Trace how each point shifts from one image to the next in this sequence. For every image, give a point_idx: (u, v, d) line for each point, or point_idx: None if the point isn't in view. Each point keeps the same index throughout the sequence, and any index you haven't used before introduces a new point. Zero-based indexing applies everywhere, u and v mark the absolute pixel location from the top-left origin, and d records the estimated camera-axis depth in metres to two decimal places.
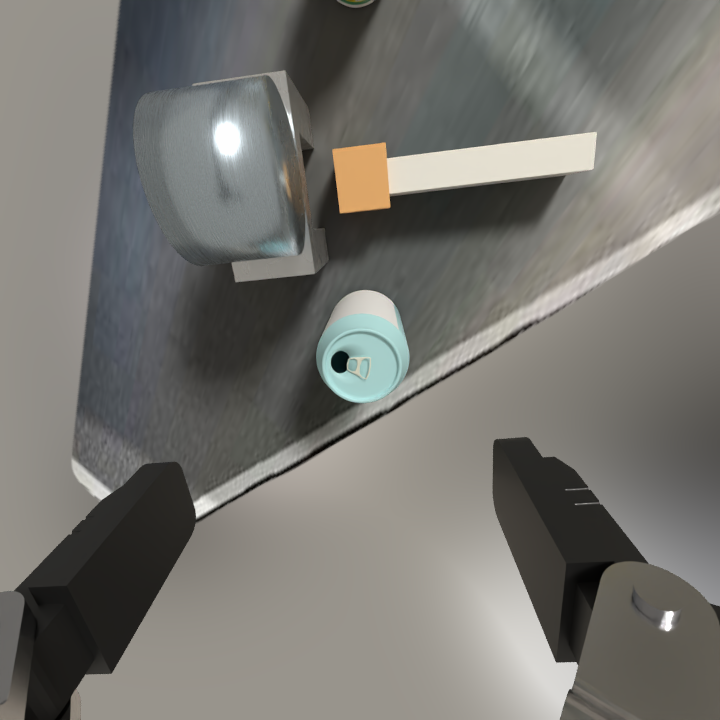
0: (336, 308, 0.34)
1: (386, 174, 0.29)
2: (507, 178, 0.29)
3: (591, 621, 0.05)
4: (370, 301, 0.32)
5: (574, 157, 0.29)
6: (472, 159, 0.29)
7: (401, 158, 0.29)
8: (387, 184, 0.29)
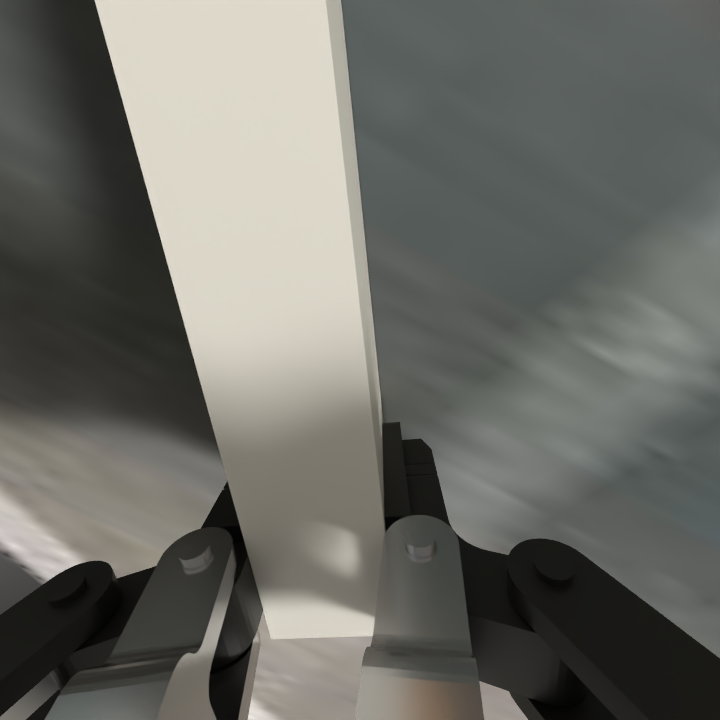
0: None
1: None
2: (192, 334, 0.05)
3: (380, 581, 0.06)
4: None
5: (307, 584, 0.07)
6: (266, 100, 0.04)
7: None
8: None
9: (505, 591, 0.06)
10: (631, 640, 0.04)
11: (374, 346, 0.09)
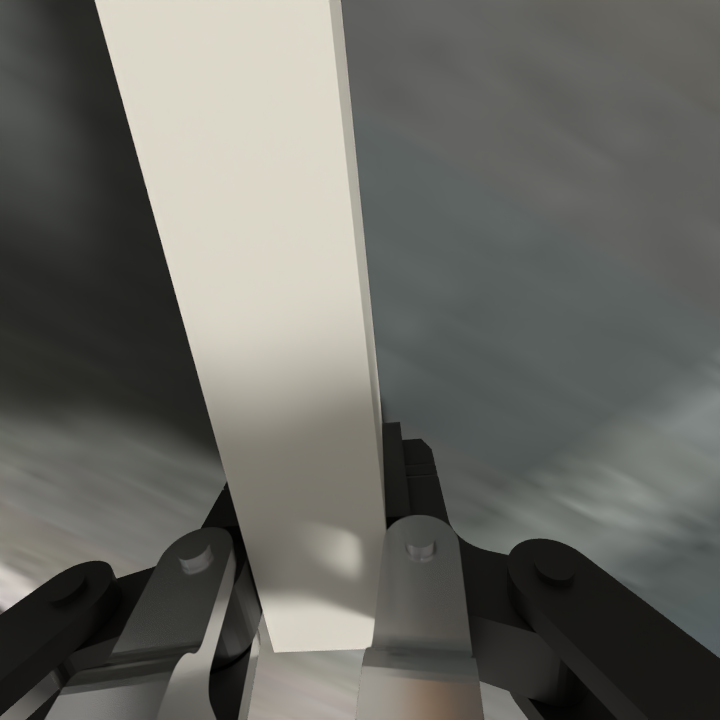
0: None
1: None
2: (197, 355, 0.05)
3: (380, 581, 0.06)
4: None
5: (310, 598, 0.07)
6: (272, 129, 0.04)
7: None
8: None
9: (505, 591, 0.06)
10: (631, 640, 0.04)
11: (375, 358, 0.09)
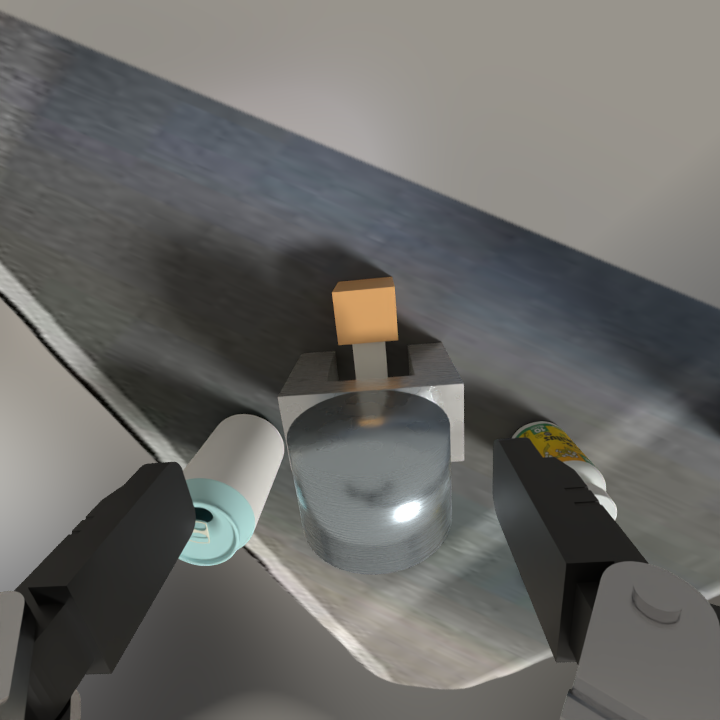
0: (261, 443, 0.33)
1: (369, 341, 0.29)
2: None
3: (591, 621, 0.05)
4: (270, 485, 0.33)
5: None
6: None
7: (384, 353, 0.29)
8: (360, 342, 0.29)
9: None
10: None
11: None
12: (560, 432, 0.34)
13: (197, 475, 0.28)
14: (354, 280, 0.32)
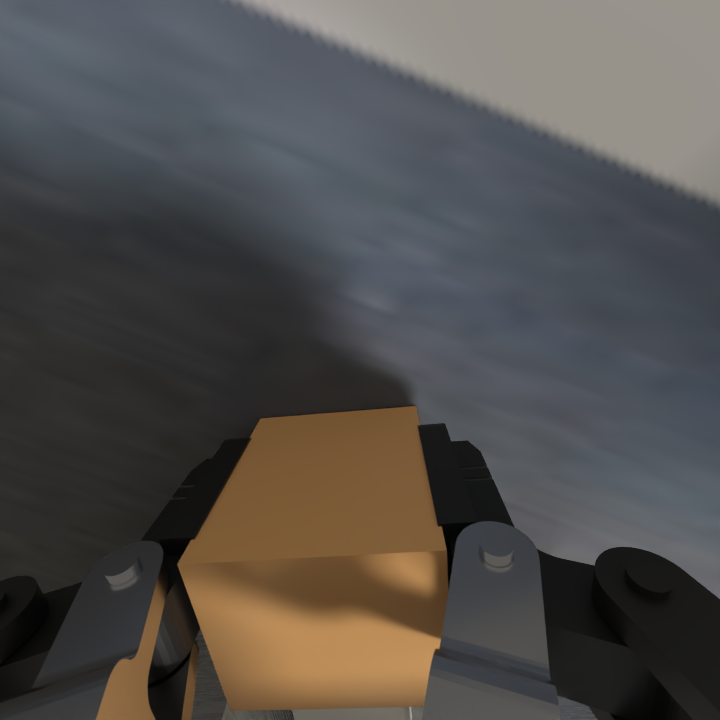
0: None
1: (343, 705, 0.08)
2: None
3: (450, 583, 0.05)
4: None
5: None
6: None
7: (398, 712, 0.08)
8: (309, 706, 0.08)
9: (591, 603, 0.05)
10: None
11: None
12: None
13: None
14: (306, 417, 0.11)
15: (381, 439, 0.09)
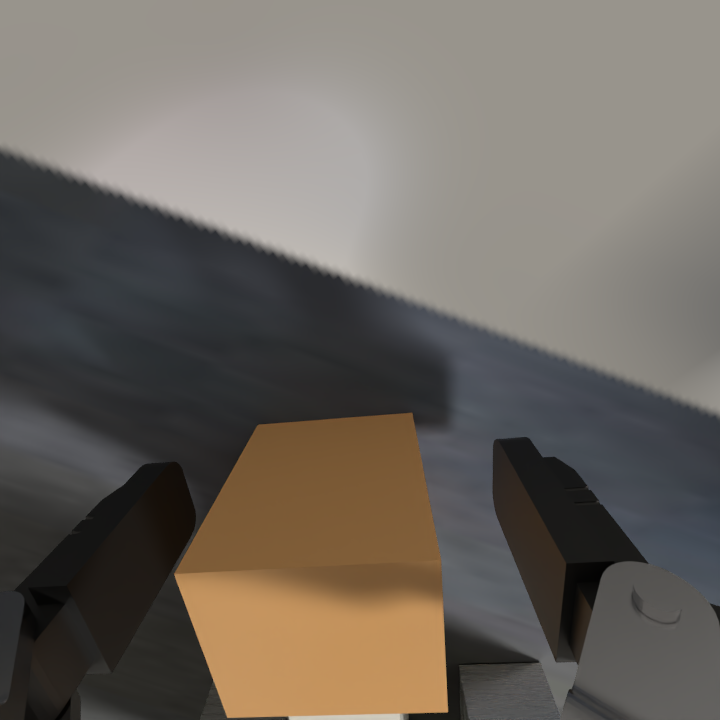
0: None
1: (339, 712, 0.08)
2: None
3: (591, 621, 0.05)
4: None
5: None
6: None
7: (394, 718, 0.08)
8: (305, 712, 0.08)
9: None
10: None
11: None
12: None
13: None
14: (303, 423, 0.11)
15: (377, 446, 0.09)
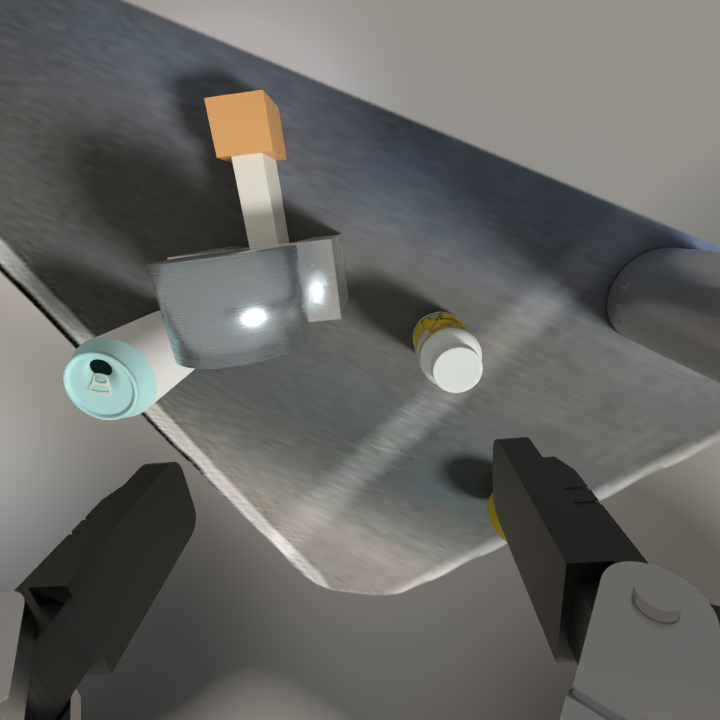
0: None
1: (245, 152, 0.30)
2: None
3: (591, 621, 0.05)
4: None
5: None
6: (267, 239, 0.32)
7: (263, 169, 0.31)
8: (236, 153, 0.30)
9: None
10: None
11: None
12: (452, 317, 0.37)
13: (100, 336, 0.30)
14: None
15: None
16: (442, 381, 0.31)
